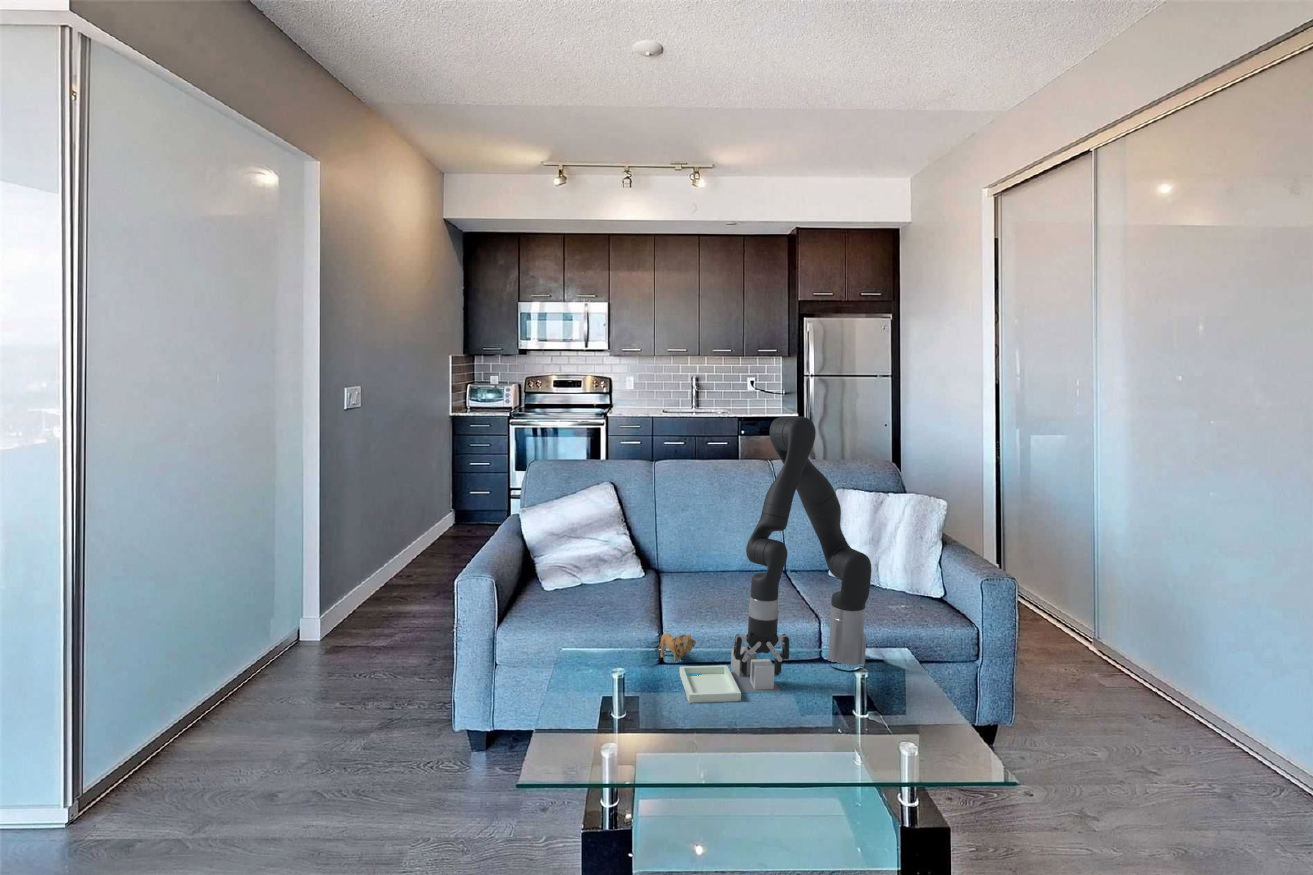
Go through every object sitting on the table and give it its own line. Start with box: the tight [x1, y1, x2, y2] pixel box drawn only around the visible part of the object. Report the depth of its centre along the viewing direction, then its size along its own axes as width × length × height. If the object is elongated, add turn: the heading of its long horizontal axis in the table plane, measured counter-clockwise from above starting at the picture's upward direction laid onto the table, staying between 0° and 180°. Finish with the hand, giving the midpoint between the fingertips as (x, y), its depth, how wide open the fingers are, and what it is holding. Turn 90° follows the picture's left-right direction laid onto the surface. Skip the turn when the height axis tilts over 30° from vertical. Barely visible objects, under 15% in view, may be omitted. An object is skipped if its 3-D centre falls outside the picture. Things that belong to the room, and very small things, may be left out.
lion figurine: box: [654, 632, 697, 662], centre depth 217 cm, size 15×5×9 cm, turn 45°
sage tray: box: [679, 664, 742, 705], centre depth 200 cm, size 13×17×2 cm
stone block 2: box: [750, 658, 775, 690], centre depth 201 cm, size 5×5×6 cm
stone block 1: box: [730, 646, 758, 677], centre depth 209 cm, size 5×5×6 cm
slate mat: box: [731, 672, 782, 694], centre depth 206 cm, size 11×16×1 cm
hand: (760, 674), depth 202 cm, fingers open, 8 cm apart
